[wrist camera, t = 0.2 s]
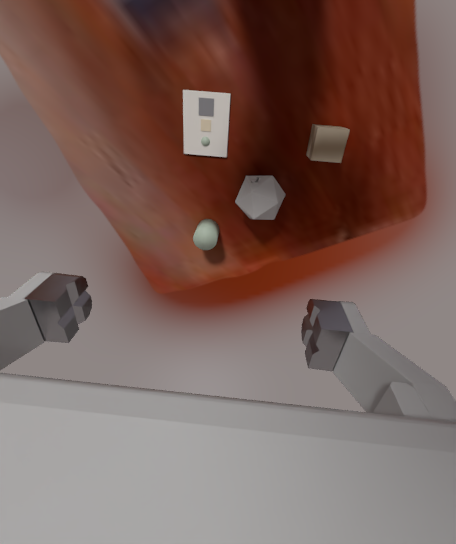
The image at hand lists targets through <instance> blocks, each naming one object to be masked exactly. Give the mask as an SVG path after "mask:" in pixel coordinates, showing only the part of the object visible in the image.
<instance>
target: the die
mask: <svg viewBox="0 0 456 544" xmlns="http://www.w3.org/2000/svg"><path fill="white" fill-rule="evenodd" d="M285 195H286V194H285V193H284V191H283V190H282V188H281V187H280V185H279V184H278V182H277V181H276V179H275V178H274V177H273V176H246V177H245V179H244V182H243V184H242V186H241V189H240V191H239V194H238V196H237V198H236V201H235V203H236V204H237V205H238V206H239V207H240V208H241V209H242V211H243V212H244V213H245V214H246V215H247V216H248V217H249V218H250V219H261V220H274V219H275V217H276V214H277V212H278V210H279V208H280V206H281V204H282V201H283V199H284V197H285Z"/></svg>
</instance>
